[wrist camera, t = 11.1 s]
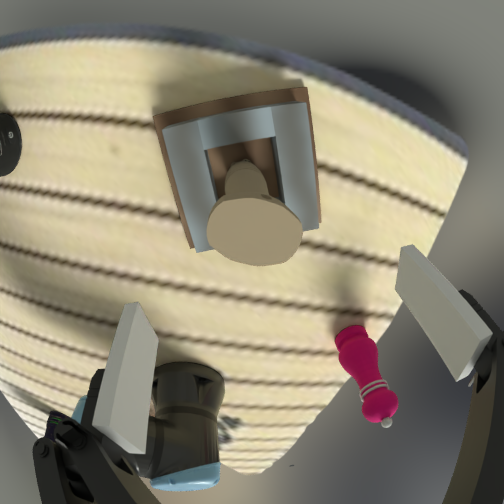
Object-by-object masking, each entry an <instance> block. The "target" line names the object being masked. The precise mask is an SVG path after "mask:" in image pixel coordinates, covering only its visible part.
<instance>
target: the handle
mask: <svg viewBox="0 0 504 504" xmlns="http://www.w3.org/2000/svg"><path fill="white" fill-rule="evenodd" d="M230 167H231V168H230V169H229V170H228V172H227V175H226V179H225V193H226V195H224V196H222V197H221V198H220V199H219V200H218V201H217V202H216V203H215V204H214V206H213V208H212V209H211V212H210V215H209V218H208V223H207V239H208V242H209V245H210V246H211V247H213V248H214V249H215V250H217V251H218V252H219V253H221V254H222V255H223V256H225V257H227V258H228V259H230V260H233V261H236V262H240V263H244V264H248V265H253V266H267V265H274V264H280V263H284V262H286V261H287V260H289V259H290V258H291V257H292V256H293V255H294V253H295V252H296V251H297V249H298V247H299V245H300V242H301V240H302V235H303V228H302V223H301V221H300V220H299V218H298V217H297V216H296V215H295V214H294V213H293V212H292V211H291V210H290V209H289V208H288V207H287V206H286V205H285V204H283V203H282V202H281V201H280V200H278V199H276V198H274V197H272V196H270V195H269V193H268V188H267V184H266V181H265V178H264V176H263V174H262V173H261V171H260V170H259V169H258V168H257V167H256V166H255V165H254V164H252V163H251V161H250V160H248V159H244V160H242V161H239V162H233V163H232V164H231V166H230Z"/></svg>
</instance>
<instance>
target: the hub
mask: <svg viewBox="0 0 504 504" xmlns="http://www.w3.org/2000/svg"><path fill="white" fill-rule="evenodd" d="M153 119H154V123H155V127H156V131H157V135H158V139H159V143H160V147H161V151H162V154H163V158H164V162H165V165H166V169H167V173H168V176H169V180H170V183H171V187H172V190H173V194H174V197H175V201H176V204H177V207H178V211H179V214H180V217H181V221H182V224H183V227H184V230H185V233H186V237H187V240H188V243H189V246H190V249H191V248H195V249H196V253H198V252H203V251H208V250H213V249H214V248H213V247H211V246H210V245H209V242H208V239H207V223H208V218H209V215H210V212H211V209H212V208H213V206H214V204H215V203H216V202H217V201H218V200H219V199H220V198H221V197H222V196H224V195H226V193H225V179H226V175H227V172H228V170H229V169H230V168H231V167H230V166H231V164H232V163H233V162H239V161H242V160H244V159H248V160H250V161H251V163H252V164H254V165H255V166H256V167H257V168H258V169H259V170H260V171H261V173H262V174H263V176H264V178H265V181H266V184H267V188H268V193H269V195H270V196H272V197H274V198H276V199H278V200H280V201H281V202H282V203H283V204H285V205H286V206H287V207H288V208H289V209H290V210H291V211H292V212H293V213H294V214H295V215H296V216H297V217H298V218H299V220H300V221H301V223H302V228H303V231H308V230H313V229H318V228H319V223H321V208H320V195H319V183H318V171H317V161H316V151H315V142H314V134H313V125H312V117H311V110H310V103H309V96H308V89H307V87H300V88H290V89H282V90H274V91H266V92H259V93H253V94H247V95H241V96H235V97H230V98H225V99H220V100H215V101H210V102H206V103H201V104H197V105H193V106H189V107H185V108H181V109H177V110H173V111H169V112H166V113H162V114H159V115H155V116H153Z"/></svg>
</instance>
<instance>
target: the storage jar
mask: <svg viewBox="0 0 504 504" xmlns="http://www.w3.org/2000/svg"><path fill="white" fill-rule="evenodd" d="M64 418H70V417H69V416H67V415H65V414H62V413H60V412H56V411H51V412H50V416H49V418H48V421H47V425H46V427H47V428H46V432H45V436H44V437H46V438H49V439H50V440H51V441H53V442H57V441H55V439H54V429H55V427H56V425H57V424H58V423H59V422H60V421H61V420H62V419H64Z"/></svg>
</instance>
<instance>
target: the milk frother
mask: <svg viewBox="0 0 504 504" xmlns="http://www.w3.org/2000/svg"><path fill="white" fill-rule="evenodd" d="M21 148H22V140H21V134H20V130H19V127H18V125H17V123H16V122H15V120H14V119H13V118H12V117H11V116H9V115H8V114H4V113H0V177H1V176H5V175H8V174H9V173H11V172H12V171H13V170H14V169H15V167H16V166H17V164H18V161H19V159H20V155H21Z"/></svg>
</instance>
